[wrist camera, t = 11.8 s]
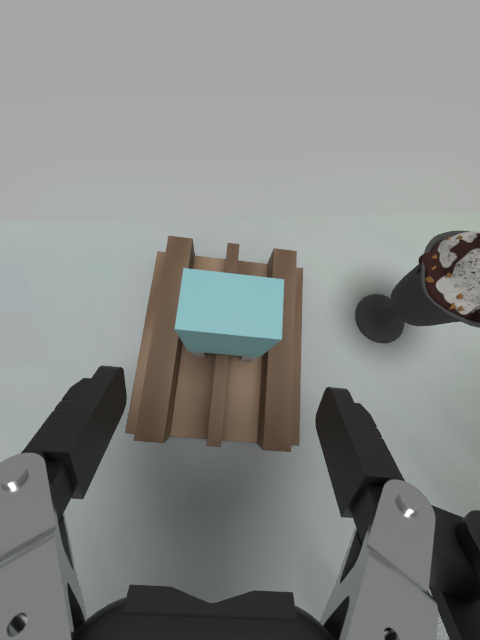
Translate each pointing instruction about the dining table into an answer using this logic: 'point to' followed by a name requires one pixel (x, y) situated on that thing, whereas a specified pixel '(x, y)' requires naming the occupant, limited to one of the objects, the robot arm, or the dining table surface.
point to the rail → (217, 363)
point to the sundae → (429, 290)
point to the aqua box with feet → (229, 313)
